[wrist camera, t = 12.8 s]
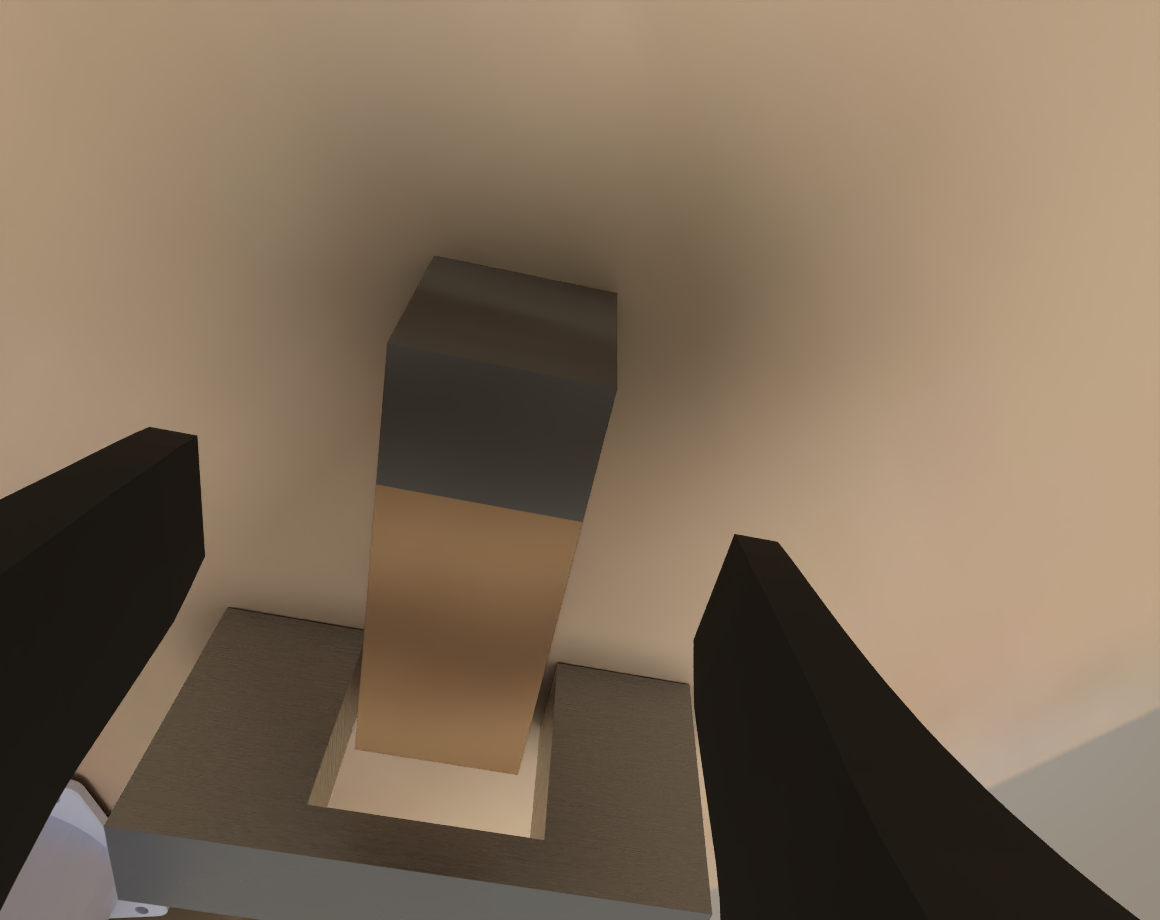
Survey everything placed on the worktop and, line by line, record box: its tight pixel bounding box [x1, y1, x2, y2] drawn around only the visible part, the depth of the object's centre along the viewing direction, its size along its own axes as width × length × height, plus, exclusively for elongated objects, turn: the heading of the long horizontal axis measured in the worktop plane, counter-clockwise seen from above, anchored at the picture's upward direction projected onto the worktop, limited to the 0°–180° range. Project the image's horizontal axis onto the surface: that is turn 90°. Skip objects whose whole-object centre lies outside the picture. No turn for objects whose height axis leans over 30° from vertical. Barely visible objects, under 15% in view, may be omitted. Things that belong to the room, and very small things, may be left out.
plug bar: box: [355, 256, 617, 775], centre depth 19 cm, size 11×4×4 cm, turn 169°
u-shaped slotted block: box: [103, 608, 712, 920], centre depth 22 cm, size 3×14×7 cm, turn 79°
